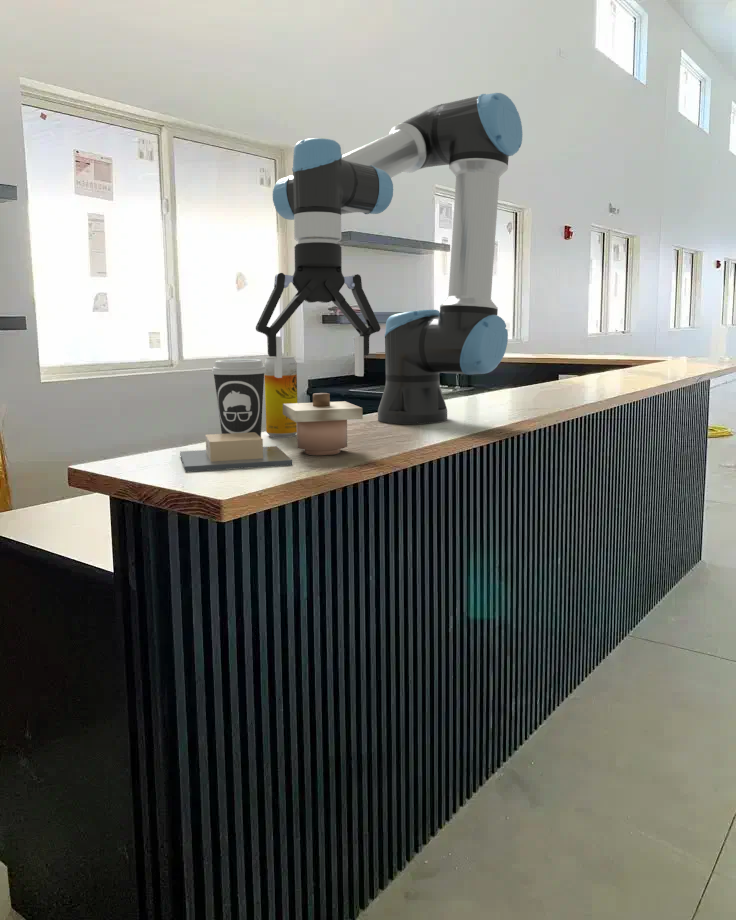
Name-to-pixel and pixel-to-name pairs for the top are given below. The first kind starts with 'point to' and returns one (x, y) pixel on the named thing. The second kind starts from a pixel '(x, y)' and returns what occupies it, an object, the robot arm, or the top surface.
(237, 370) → the coffee cup
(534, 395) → the top surface
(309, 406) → the lid
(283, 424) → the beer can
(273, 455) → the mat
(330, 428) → the bowl
